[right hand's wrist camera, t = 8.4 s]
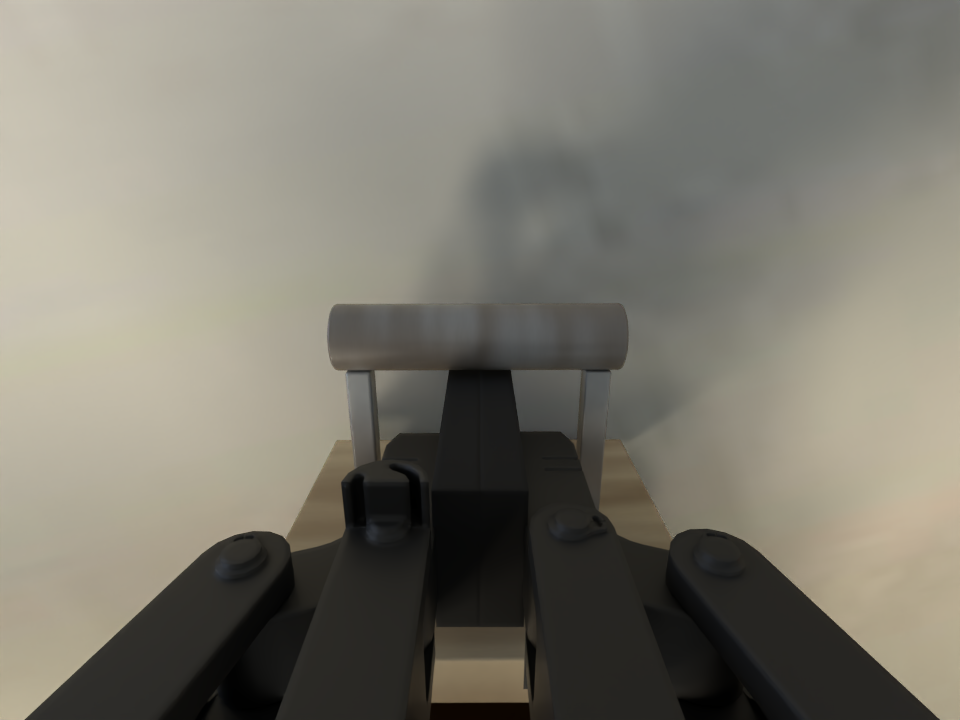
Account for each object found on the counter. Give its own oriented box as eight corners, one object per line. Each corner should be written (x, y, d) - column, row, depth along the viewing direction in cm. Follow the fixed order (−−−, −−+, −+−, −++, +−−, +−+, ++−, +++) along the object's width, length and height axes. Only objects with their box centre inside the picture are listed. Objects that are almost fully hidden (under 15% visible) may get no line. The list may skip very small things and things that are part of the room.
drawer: (318, 271, 16) (157, 377, 8) (637, 270, 16) (797, 375, 8) (374, 799, 25) (322, 1112, 16) (584, 798, 25) (637, 1111, 17)
